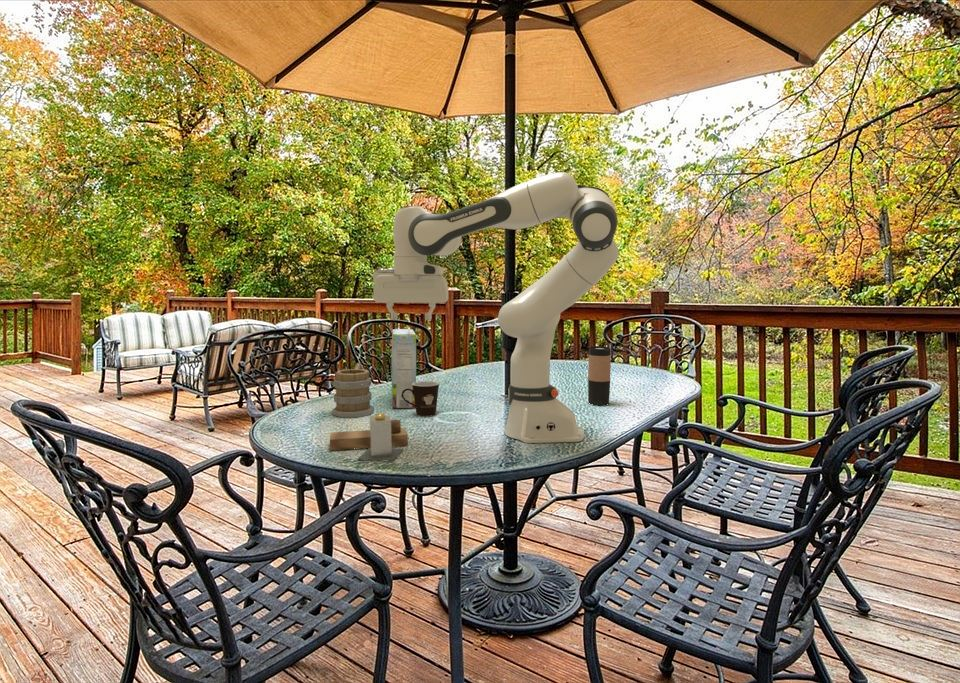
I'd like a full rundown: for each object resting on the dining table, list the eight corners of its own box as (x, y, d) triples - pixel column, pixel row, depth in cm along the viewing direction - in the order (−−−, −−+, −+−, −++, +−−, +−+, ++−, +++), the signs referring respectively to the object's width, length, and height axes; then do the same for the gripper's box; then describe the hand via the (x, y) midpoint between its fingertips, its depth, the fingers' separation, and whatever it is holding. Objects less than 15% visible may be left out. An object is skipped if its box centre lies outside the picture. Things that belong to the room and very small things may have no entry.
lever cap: (390, 449, 144) (389, 411, 143) (391, 455, 139) (390, 416, 138) (370, 451, 143) (369, 412, 142) (371, 457, 138) (370, 417, 137)
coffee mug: (441, 410, 187) (441, 381, 186) (436, 417, 179) (436, 386, 178) (407, 410, 188) (406, 380, 187) (401, 416, 180) (400, 385, 179)
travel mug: (587, 401, 202) (588, 346, 199) (608, 401, 201) (610, 346, 198) (588, 405, 194) (589, 348, 192) (610, 406, 193) (612, 349, 191)
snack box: (418, 408, 191) (416, 333, 188) (392, 409, 189) (390, 334, 186) (415, 395, 212) (413, 328, 209) (391, 396, 211) (390, 328, 208)
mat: (403, 450, 145) (403, 448, 145) (393, 461, 136) (393, 460, 136) (369, 449, 146) (369, 447, 146) (357, 460, 137) (357, 458, 137)
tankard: (368, 418, 178) (367, 371, 177) (328, 417, 179) (327, 371, 177) (380, 403, 198) (379, 362, 196) (345, 403, 198) (343, 361, 197)
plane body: (405, 438, 155) (404, 417, 155) (407, 445, 149) (407, 423, 148) (330, 443, 151) (330, 421, 150) (330, 451, 144) (329, 428, 143)
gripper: (369, 268, 148) (370, 320, 150) (445, 267, 146) (445, 320, 147) (376, 268, 154) (377, 318, 156) (449, 268, 152) (449, 319, 154)
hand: (411, 319), depth 152 cm, fingers open, 8 cm apart
